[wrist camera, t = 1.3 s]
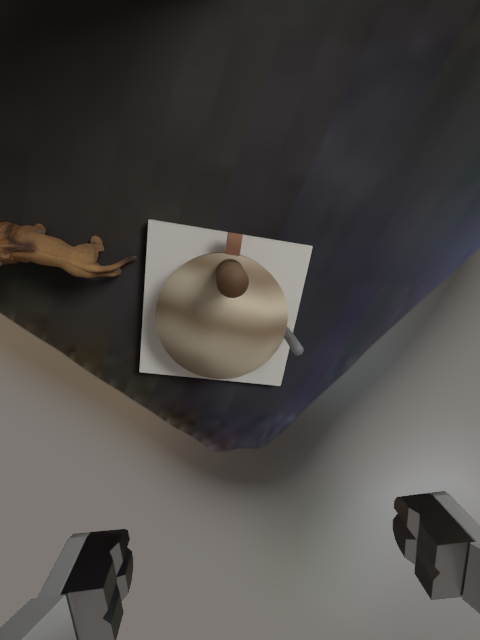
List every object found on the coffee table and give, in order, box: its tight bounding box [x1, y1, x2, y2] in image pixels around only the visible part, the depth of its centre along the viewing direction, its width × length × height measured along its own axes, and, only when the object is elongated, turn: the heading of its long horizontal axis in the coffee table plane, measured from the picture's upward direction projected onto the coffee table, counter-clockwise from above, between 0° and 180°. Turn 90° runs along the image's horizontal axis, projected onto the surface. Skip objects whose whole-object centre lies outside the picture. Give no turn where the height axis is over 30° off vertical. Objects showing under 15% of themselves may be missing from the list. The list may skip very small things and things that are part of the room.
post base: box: [139, 220, 313, 386], centre depth 34 cm, size 19×19×8 cm
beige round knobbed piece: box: [155, 232, 288, 379], centre depth 31 cm, size 17×15×6 cm
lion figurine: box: [0, 222, 137, 278], centre depth 30 cm, size 15×5×9 cm, turn 84°
